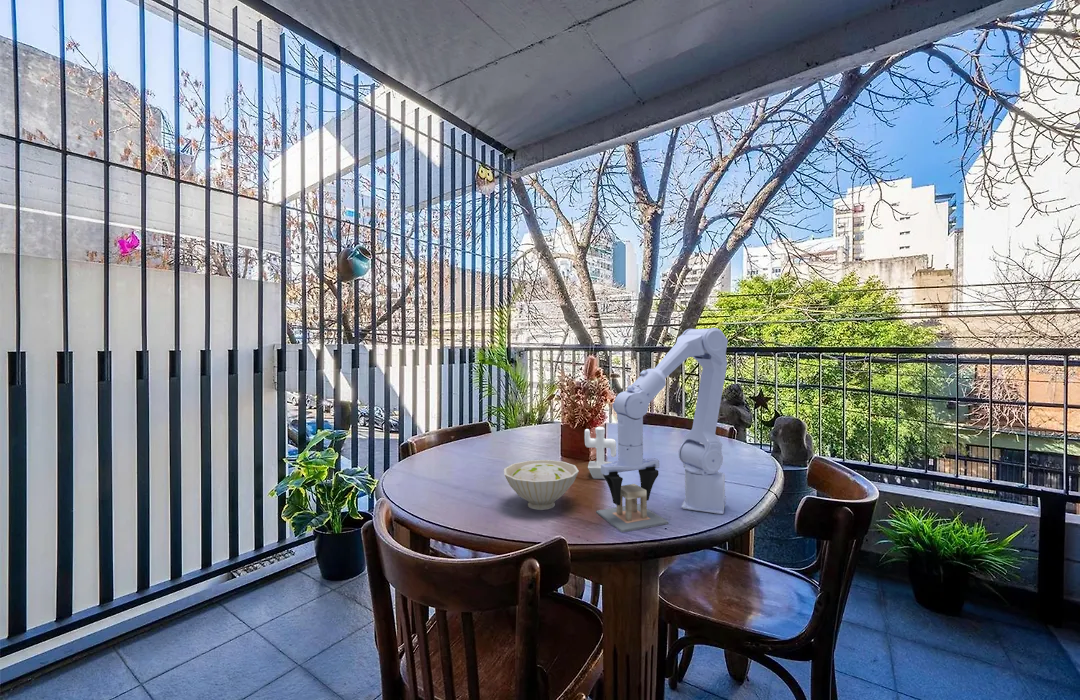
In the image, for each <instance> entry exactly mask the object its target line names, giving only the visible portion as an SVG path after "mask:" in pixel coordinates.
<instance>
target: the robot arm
mask: <svg viewBox="0 0 1080 700" xmlns="http://www.w3.org/2000/svg"><path fill="white" fill-rule="evenodd" d="M728 342H729V340H728V337H726V335H725V334H724V332H723V331H722V330H721V329H720V328H717V327H711V328H687V329H685V330H684V331H683V332H682V334H681V335H679V336H678V337H677V339H676V343H675V344H674V345H673V346H672V347H671V348H670V350H669V351H668V352H667V353H666V354H665V355H664V357H663V358H662V359H661V361H659V362H658V364H657V365H656V366H655V367H654V368H647V369H644V370H642V371H641V372H640V373H639V375H640V376H638V377H637V379H635V381H634V382H633V383H631V384H629V385H628V386H627V389H626V390H624V391H621V392H620V393H618V394H617V395H616V396H615V398H614V402H612V409H613V411H614V412H615V414H616V419H617V456H618V457H617V459H618V460H616V461H610V462H611V463H608V464H603V465H601V473H602V474H603V476H604V478H605V479H604V480H605V481H606V483H607V485H608V488H609V490H610V493H611V499H612V502H613V504H615V505H616V506H617V505H620V502H621V486H622V484H623V480H624V479H623V477H621V476H620V474H619V473H625V472H633V471H638V474H639V480H640V481H639V482H640V487H642V488H643V489H645V490H647V501H649V500H650V496H651V493H652V489H653V486H654V483H655V481H656V480H657V478H658V476H659V470H657V469H660V459H658V458H655V457H654V458H644V441H643V440H644V437H643V436H644V421H643V420H644V416H645V415H647V413H648V411H649V405H650V403H651V401H653V400H654V398H655V397H656V396H657V395H658V394H659V393H660V392H661V391H662V390H663V389H664V388H665V387H666V384H667V383H666V380H667V379H666V378H667V377H669V376H670V375H671V374H673V372H674V371H675V370H676V369H677V368H678V367H680V366H681V364H683V363H684V362H685V361H686V360H687V359H688V358H693V359H694V360H695V361H697V362H698V363H699V365H700V366H701V368H702V371H701V375H700V376H701V377H700V382H699V389H698V392H697V393H698V394H697V399H696V405H695V410H694V415H693V421H692V422H693V423H692V426H691V427H692V428H691V429H690V430H689V431H688V432H686V433H685V434H684V436H683V440H682V443H681V445H680V446H679V448H678V458H679V460H680V462H682V464H683V469H684V491H685V492H684V500H683V502H682V504H681V509H684V510H689V511H697V512H705V513H712V514H713V513H714V514H720V515H723V514H724V513H725V505H726V503H727V496H725V495H726V492H725V491H726V488H725V486H726V484H725V483H726V482H725V479H726V478H725V473H724V472H720V469H721V467H722V465H723V460H724V459H723V458H724V456H723V454H722V452H723V451H722V449H723V443H722V441H721V440H720V439H719V437H718V436H717V434H716V430H717V424H718V421H719V420H718V419H719V414H720V408H721V402H722V397H723V390H724V383H725V378H726V372H727V366H728V361H727V347H728Z"/></svg>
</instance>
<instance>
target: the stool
mask: <svg viewBox="0 0 1080 700" xmlns="http://www.w3.org/2000/svg"><path fill="white" fill-rule="evenodd" d="M623 498H624V499H625V503H624V504H625V505H624V506H625V509H626V521H632V512H633V513H635V512H637V504H638V499H640V503H639V504H640V505H641V518H643V519H645V518H647V509H648V508H647V507H648V504H647V490H645V489H643V488H642V487H641V485H640V486H639V484H638V485H637V484H636V483H631V484H624V485H621V502H620V505H616V507H617V514H618V515H623V510H622V507H623Z"/></svg>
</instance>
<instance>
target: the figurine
mask: <svg viewBox="0 0 1080 700" xmlns="http://www.w3.org/2000/svg"><path fill="white" fill-rule="evenodd" d="M594 429H595V430H594V431H595V432H594V433H595V438H594V437H591V432H590V429H589V428H586V429H584V445H585V447H586V448H591V449H592V448H593V449H594V448H595V451H596V453H595V455H596V460H595V461H594V460H590V461H589V462H588V466H587V469H588V472H589V473H590V475H591V477H592V479H594V480H596V479H598V480H599V479H601V480H606V479H605V478H604V476H603V474H602V473H601V465H603V464H608V463H611V462H612V461H605V449H610V456H611V457H612V458H615V457H616V456H617V441H616V440H615V439H614V438H605V434H606V429H605V427H604V426H596V427H595V428H594Z"/></svg>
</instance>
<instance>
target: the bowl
mask: <svg viewBox="0 0 1080 700" xmlns="http://www.w3.org/2000/svg"><path fill="white" fill-rule="evenodd" d="M503 474H504V476H505V479H506V481H507V483H508V485H509V486H510V488H511V489H512V490H513V491H514V492H515V493H516V494H517V495H518V497H520V498H522V499H523V500H525V501H527V502H528V503H527V507H528V508H530V509H532V510H538V511H543V510H549V509H550V510H551V509H553V508H554V507H555V506H556V503H555V502H556V501H557V500H558V499H560V498H562V496H564V495H565V493H566V492H567V491H568V490H569V489H570V487H572V486H573V484H574V482H575V480H576V478H577V476H578V474H579V469H578V468H577V466H576V465H575V464H572V463H568V462H566V461H562V460H551V459H537V460H536V459H535V460H525V461H520V462H515V463H512V464H510V465H508V466H507V467H504V469H503Z"/></svg>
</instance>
